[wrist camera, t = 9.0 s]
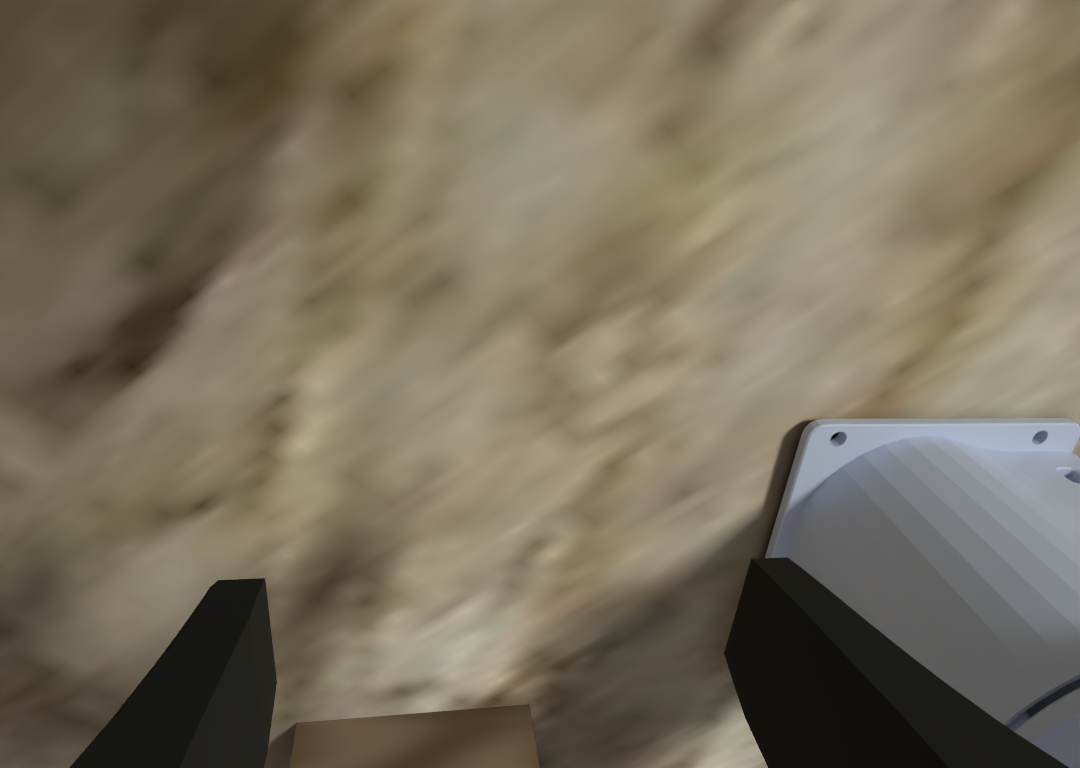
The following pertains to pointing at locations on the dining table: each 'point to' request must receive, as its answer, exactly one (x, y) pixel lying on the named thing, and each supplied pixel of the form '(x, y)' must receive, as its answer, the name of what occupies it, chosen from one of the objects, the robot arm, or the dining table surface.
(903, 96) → the dining table surface
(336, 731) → the walnut block
